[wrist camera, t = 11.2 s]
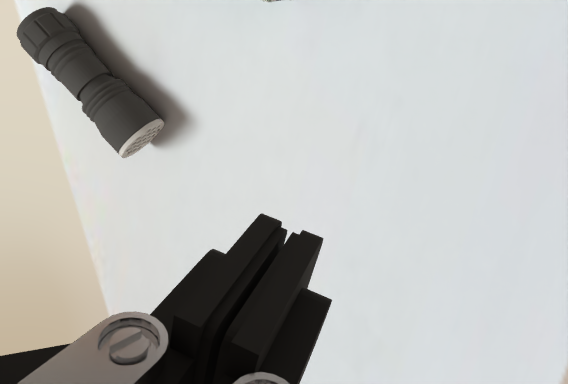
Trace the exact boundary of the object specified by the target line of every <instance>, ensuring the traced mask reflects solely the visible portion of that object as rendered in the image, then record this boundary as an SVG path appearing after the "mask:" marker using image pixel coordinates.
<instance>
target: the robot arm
mask: <svg viewBox="0 0 568 384" xmlns="http://www.w3.org/2000/svg"><path fill="white" fill-rule="evenodd" d="M281 225H282V222H281V221H279V220H277V219H274V218H272V217H269V216H267V215H264V214H260V215H259V216H258V217H257V218H256V219H255V221H254V222H253V223H252V224H251V225H250V226H249V228H248V229H247V230H246V231H245V232H244V233H243V235H242V236H241V237H240V238H239V239H238V240H237V242H236V243H235V244H234V245H233V246H232V247H231V249H230V250H229V251H228V252H227V253H226V254H224V253H222V252H220V251H217V250H215V249H212V250H210V251H209V252H208V253H207V254H206V255H205V256H204V257H203V258H202V259H201V260H200V261H199V262H198V263H197V264H196V266H195V267H194V268H193V269H192V270H191V271H190V272H189V273H188V274H187V275H186V276H185V277H184V279H183V280H182V281H181V282H180V283H179V284H178V285H177V286H176V287H175V288H174V289H173V290H172V291H171V293H170V294H169V295H168V296H167V297H166V298H165V299H164V300H163V301H162V302H161V303H160V304H159V306H158V307H157V308H156V309H155V310H154V311H153V312H152V313H151V314H150V315H149V314H146V313H141V312H123V313H119V314H116V315H112V316H110V317H109V318H107V319H105V320H103V321H102V322H100V323H99V324H98V325H96V326H95V327H93V328H92V329H91V330H89V331H88V332H87V333H85V334H84V335H82V336H81V337H80V338H79V339H77V340H76V341H74V342H73V343H71V344H66V345H60V346H54V347H49V348H43V349H38V350H32V351H27V352H20V353H15V354H9V355H4V356H0V384H299V383H300V381H301V378H302V376H303V374H304V371H305V369H306V366H307V364H308V361H309V359H310V356H311V354H312V351H313V349H314V346H315V344H316V341H317V339H318V336H319V334H320V331H321V328H322V326H323V323H324V321H325V318H326V315H327V313H328V310H329V307H330V305H331V302H332V300H331V299H329V298H327V297H324V296H322V295H320V294H317V293H315V292H313V291H310V290H308V289H307V288H308V285H309V282H310V279H311V276H312V273H313V270H314V267H315V264H316V261H317V258H318V255H319V252H320V249H321V246H322V242H323V238H322V237H319V236H317V235H314V234H312V233H309V232H307V231H304V230H302V232H301V233H300V235H299V234H296V233H294V232H293V233H292V234H291V235H290V237H289V238H288V240H287V241H286V243H285V244H284V242H285V238H286V235H287V230H286V229H284V228H281ZM283 245H284V246H283Z"/></svg>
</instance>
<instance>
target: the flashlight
mask: <svg viewBox="0 0 568 384" xmlns="http://www.w3.org/2000/svg"><path fill="white" fill-rule="evenodd" d="M17 37H18V38H19V40H20V43H21V46H22V47H23V48H24V50H25V51H26V52H27V53H28V54H29V55H30V56H31V57H32V58H33V59H34V60H35V61H36V62H37V63H38V64H42V65H43V66H44V67H45V68H46V69H47V70H48V71H51V74H52V75H53V76H55V78H56V79H57V80H58V81H60V82H62V84H63V85H64V86H65V87H66V88H67V89H68V90H69V91H70V92H71V93H72V94H73V95H74V97H75V98H76V99H77V100H78V101H81V102H82V103H83V105H82V110H83V112H84V113H85V114H86V115H87V117H89V118H90V120H91V121H93V122H95V124H96V126H97V128H98V129H99V131H100V133H101V135H102V136H103V137H104V139H105V140H106V141H107V142H108V143H109V144H110V145H111V146H112V147H113V148H114V149H115V150H116V151H117V153H118V154H119V155H120V156H121V157H122V158H126V157H129V156H131V155H133V154H134V153H136V152H137V151H139V150H140V149H141V148H143V147H144V146H145V145H147V144H148V143H149V142H150V141H151V140H152V139H153V138H154V137H155V136H156V135H157V134H158V133H159V131H160V130H161V129H162V128H163V126H164V122H163V121H162V120H161V119H160V118H159V116H158V115H157V114H156V113H155V112H154V111H153V110H152V109H151V108H150V106H149V105H148V104H147V103H146V102H145V101H144V100H143V99H141V98H140V97H138V96H137V95H135V94H134V93H132V91H131V89H130V88H129V87H128V86H127V84H125V83H124V81H123V80H122V79H117V78H116V79H114V78H113V77H112V74H111V72H110V71H109V70H108V69H107V68H106V67H105V66H104V65H103V64H102V62H101V61H100V60H99V59H98V58H97V57H96V56H95V53H94V51H93V50H91V49H90V47H89V46H88V45H86V43H85V41H84V40H83V39H82V38H81V36H80V32H79V30H78V29H77V27H76V26H75V25H74V24H73V23H72V22H71V21H70V20H69V19H68V17H67V16H66V15H65V14H63V13H60V12H58V11H57V10H56V9H55V8H51V7H46V8H42V9H39V10H36V11H34V12H33V13H31V14H30V15H28V16H27V17H26V18H25V19H24V20H23V21H22V22H21V24H20V25H19V27H18V30H17Z"/></svg>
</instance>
